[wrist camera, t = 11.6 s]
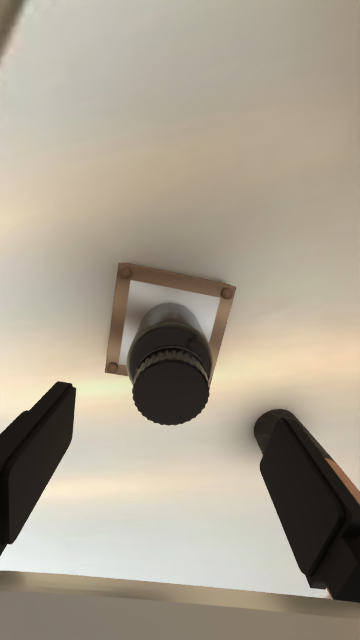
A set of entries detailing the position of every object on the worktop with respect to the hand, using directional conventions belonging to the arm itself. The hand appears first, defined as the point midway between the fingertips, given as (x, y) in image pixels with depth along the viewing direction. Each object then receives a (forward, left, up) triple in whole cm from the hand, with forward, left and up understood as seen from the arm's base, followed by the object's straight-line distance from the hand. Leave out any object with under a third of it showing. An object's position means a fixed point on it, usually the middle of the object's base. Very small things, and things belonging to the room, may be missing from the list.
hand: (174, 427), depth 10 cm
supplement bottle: (0, 0, -15) cm, 15 cm away
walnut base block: (+1, 0, -19) cm, 19 cm away
